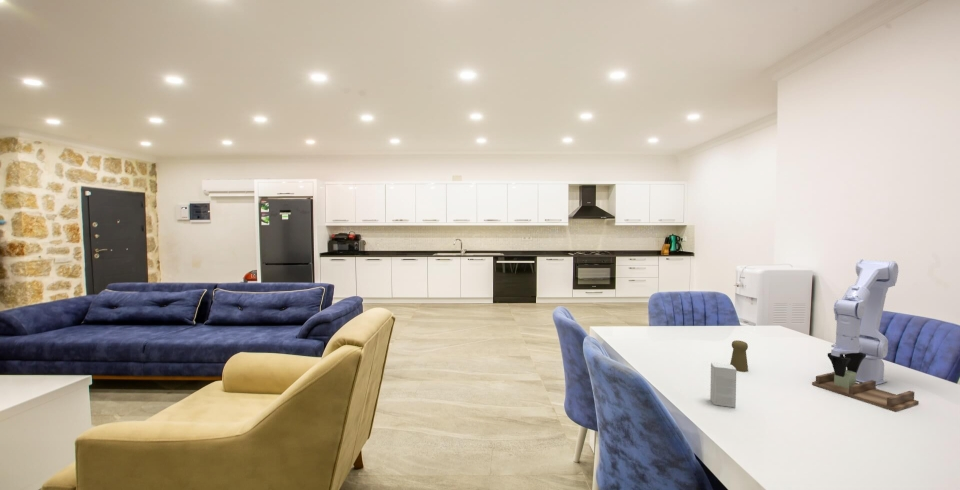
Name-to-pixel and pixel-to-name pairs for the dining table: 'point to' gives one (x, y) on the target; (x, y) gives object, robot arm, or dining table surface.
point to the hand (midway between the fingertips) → (845, 374)
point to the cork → (739, 356)
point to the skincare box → (723, 385)
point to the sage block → (845, 379)
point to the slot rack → (868, 393)
